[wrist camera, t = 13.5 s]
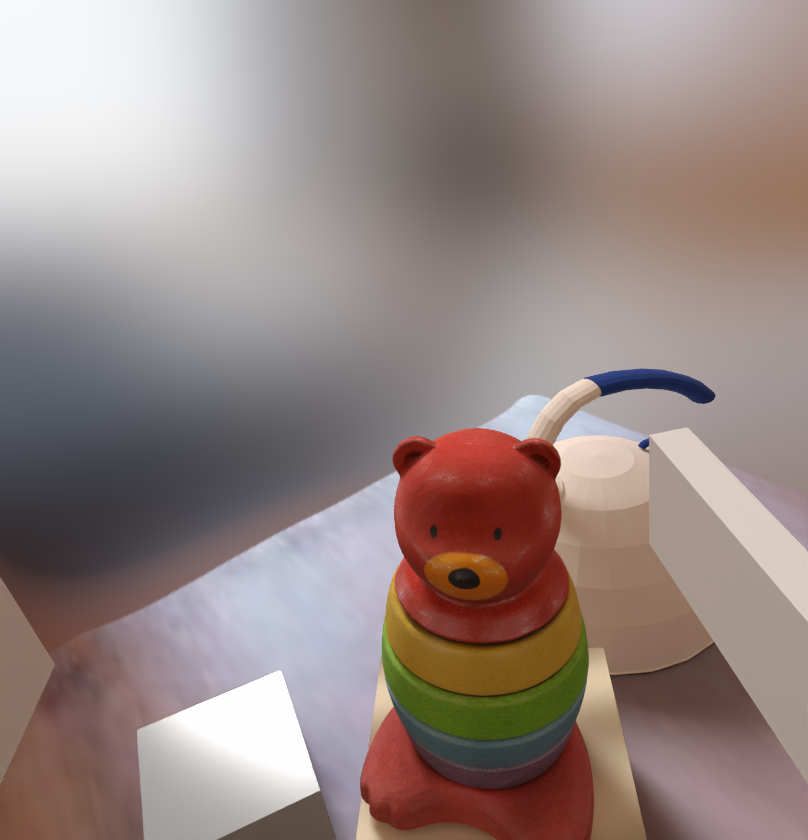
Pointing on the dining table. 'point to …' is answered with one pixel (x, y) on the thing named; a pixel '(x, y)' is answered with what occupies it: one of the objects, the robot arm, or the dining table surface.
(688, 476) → the robot arm
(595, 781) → the birch block
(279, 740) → the stoneware block
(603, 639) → the kettle
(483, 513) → the stacking bear
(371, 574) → the dining table surface
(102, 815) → the dining table surface
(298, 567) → the dining table surface
